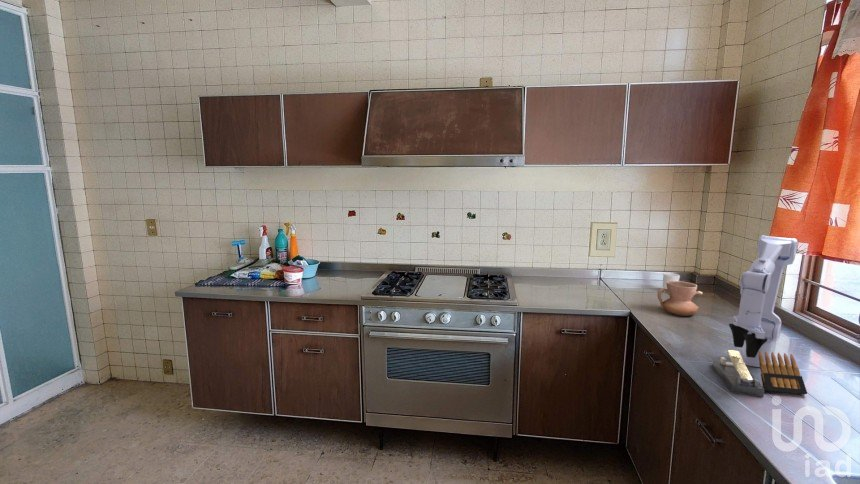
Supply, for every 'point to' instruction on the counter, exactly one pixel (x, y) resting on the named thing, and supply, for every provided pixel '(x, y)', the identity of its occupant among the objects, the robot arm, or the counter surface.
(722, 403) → the counter surface
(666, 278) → the white cup
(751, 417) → the counter surface
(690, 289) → the ceramic jug
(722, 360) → the lug
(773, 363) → the ammunition clip
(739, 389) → the block
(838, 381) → the counter surface
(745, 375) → the tan long flat bar
